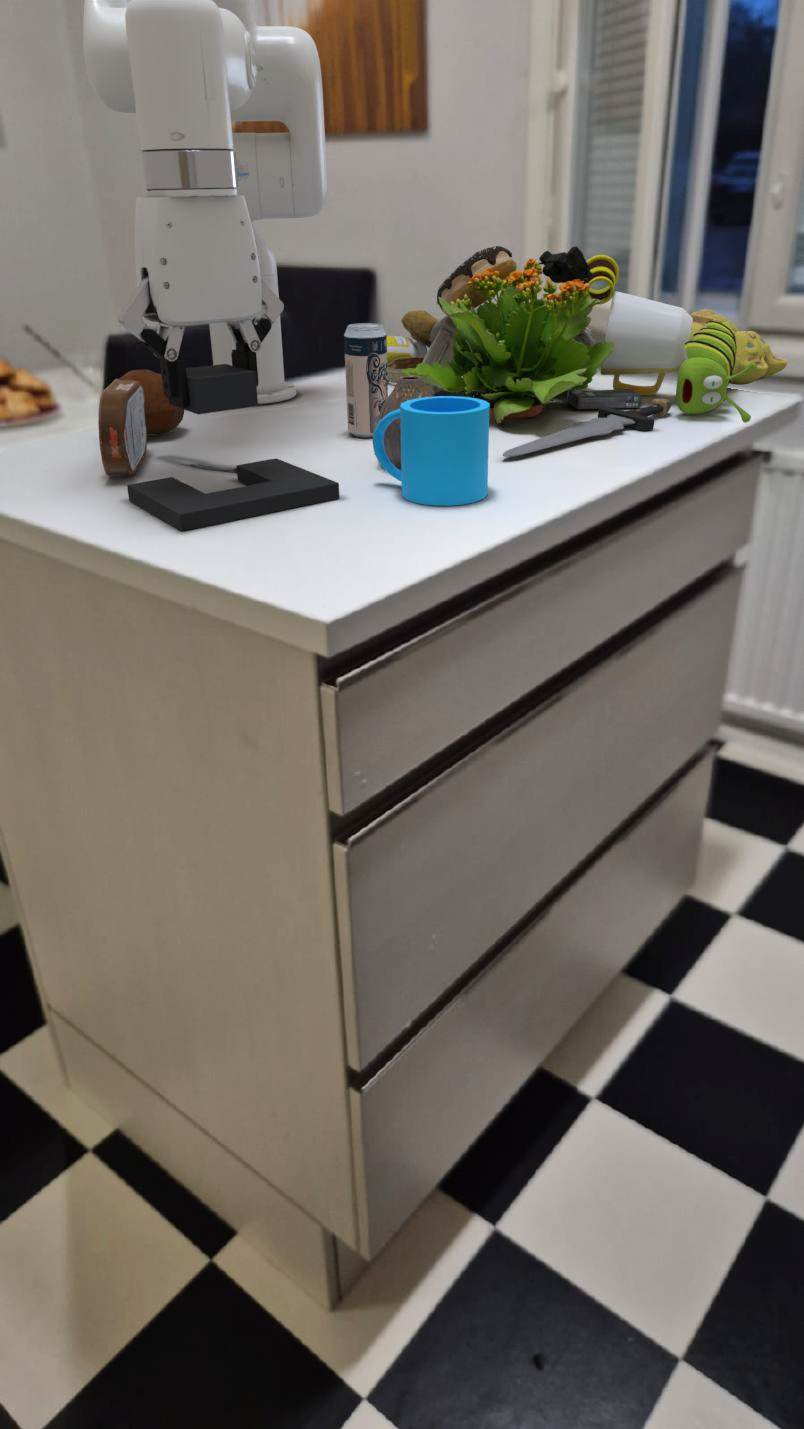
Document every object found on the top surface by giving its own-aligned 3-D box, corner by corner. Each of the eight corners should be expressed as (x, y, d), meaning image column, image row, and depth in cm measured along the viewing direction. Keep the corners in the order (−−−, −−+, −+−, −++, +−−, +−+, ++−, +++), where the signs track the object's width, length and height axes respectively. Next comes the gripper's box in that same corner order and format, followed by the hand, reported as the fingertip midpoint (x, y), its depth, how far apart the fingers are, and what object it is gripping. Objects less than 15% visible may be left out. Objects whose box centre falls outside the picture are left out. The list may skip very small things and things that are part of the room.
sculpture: (476, 376, 150) (450, 374, 163) (489, 355, 149) (462, 356, 163) (406, 322, 145) (386, 325, 159) (419, 301, 144) (398, 306, 158)
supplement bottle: (359, 377, 151) (416, 379, 155) (372, 365, 146) (432, 368, 150) (355, 341, 151) (413, 345, 155) (368, 328, 146) (428, 332, 150)
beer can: (383, 439, 114) (381, 328, 108) (343, 438, 115) (338, 327, 109) (392, 430, 118) (390, 322, 112) (353, 429, 119) (349, 322, 113)
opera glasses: (592, 272, 121) (624, 294, 122) (596, 245, 123) (627, 267, 125) (544, 326, 128) (575, 345, 130) (549, 300, 131) (578, 319, 133)
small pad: (169, 404, 91) (165, 370, 90) (228, 396, 94) (225, 363, 93) (197, 414, 87) (193, 379, 86) (258, 406, 90) (255, 371, 89)
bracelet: (453, 377, 148) (453, 356, 147) (430, 387, 141) (430, 365, 140) (400, 373, 151) (400, 353, 150) (375, 383, 144) (374, 362, 143)
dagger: (687, 415, 123) (689, 398, 122) (560, 471, 100) (561, 450, 99) (631, 408, 127) (633, 391, 126) (497, 460, 104) (497, 440, 103)
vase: (384, 455, 107) (382, 371, 103) (448, 457, 106) (448, 371, 102) (372, 472, 101) (370, 383, 97) (439, 474, 100) (440, 384, 96)
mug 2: (700, 280, 124) (615, 272, 126) (690, 344, 120) (604, 336, 122) (683, 356, 136) (606, 349, 138) (674, 416, 133) (595, 408, 135)
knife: (297, 466, 102) (282, 472, 99) (297, 473, 102) (283, 479, 100) (164, 455, 108) (146, 460, 106) (164, 462, 109) (147, 467, 106)
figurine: (709, 305, 144) (803, 328, 136) (696, 365, 150) (785, 392, 141) (665, 315, 138) (760, 341, 129) (652, 378, 143) (743, 407, 134)
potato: (206, 429, 120) (199, 364, 117) (150, 448, 112) (141, 379, 108) (150, 423, 123) (141, 360, 120) (91, 442, 115) (81, 375, 111)
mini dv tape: (577, 397, 125) (567, 389, 131) (577, 409, 126) (567, 401, 131) (641, 395, 126) (629, 388, 131) (640, 407, 126) (628, 399, 132)
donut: (525, 276, 130) (510, 249, 130) (514, 260, 119) (497, 230, 119) (454, 325, 134) (439, 299, 133) (437, 314, 123) (420, 285, 122)
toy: (668, 358, 117) (756, 364, 113) (719, 293, 136) (795, 296, 132) (663, 420, 121) (747, 428, 117) (713, 349, 140) (787, 353, 136)
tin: (127, 450, 111) (115, 372, 107) (155, 449, 111) (144, 371, 107) (102, 486, 98) (88, 398, 94) (135, 485, 98) (122, 397, 94)
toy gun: (561, 261, 113) (595, 299, 115) (579, 240, 112) (613, 279, 114) (512, 269, 131) (543, 302, 133) (528, 251, 131) (558, 284, 133)
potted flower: (373, 423, 120) (369, 266, 112) (440, 389, 140) (440, 252, 131) (575, 438, 112) (587, 269, 104) (617, 399, 131) (629, 254, 123)
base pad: (128, 500, 93) (126, 484, 93) (277, 472, 101) (276, 458, 101) (182, 531, 85) (179, 514, 84) (339, 498, 93) (339, 482, 92)
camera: (434, 354, 144) (467, 294, 137) (466, 377, 144) (500, 318, 137) (402, 379, 136) (435, 317, 129) (436, 404, 136) (471, 343, 129)
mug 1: (502, 488, 95) (505, 401, 91) (461, 510, 89) (462, 417, 85) (397, 473, 101) (395, 389, 97) (351, 492, 94) (347, 404, 91)
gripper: (261, 177, 89) (276, 384, 98) (72, 179, 80) (107, 407, 89) (303, 175, 84) (315, 395, 92) (106, 177, 75) (139, 420, 83)
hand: (213, 399), depth 90 cm, fingers closed on small pad, 6 cm apart
